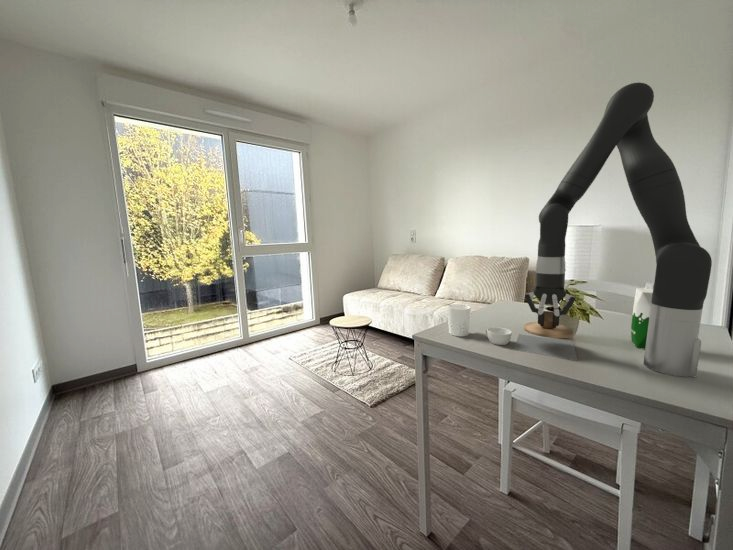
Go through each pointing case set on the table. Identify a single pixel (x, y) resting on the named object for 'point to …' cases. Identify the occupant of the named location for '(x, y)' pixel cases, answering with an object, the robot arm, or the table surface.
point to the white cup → (458, 319)
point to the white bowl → (498, 335)
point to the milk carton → (641, 316)
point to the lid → (548, 327)
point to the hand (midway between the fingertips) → (547, 326)
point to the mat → (546, 346)
